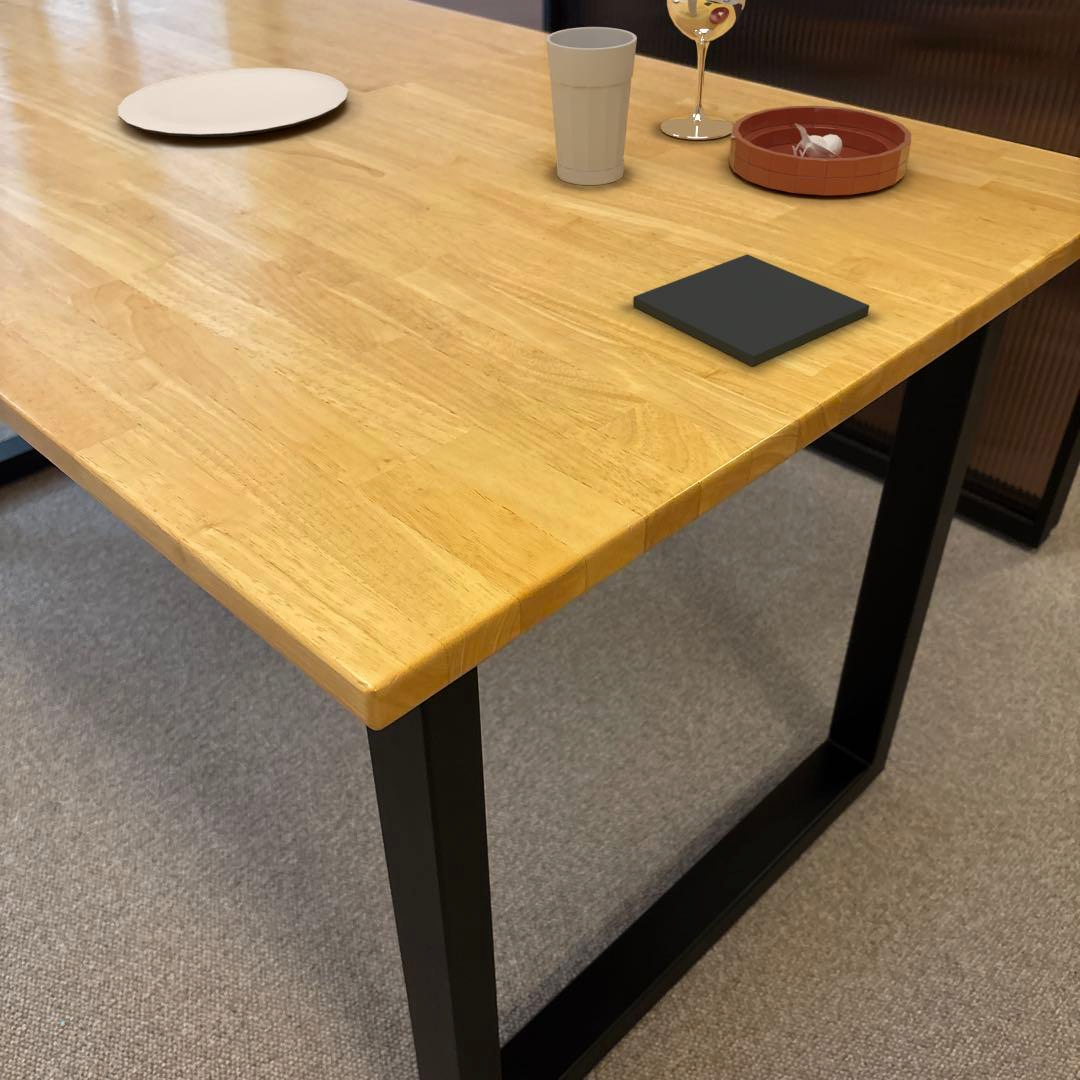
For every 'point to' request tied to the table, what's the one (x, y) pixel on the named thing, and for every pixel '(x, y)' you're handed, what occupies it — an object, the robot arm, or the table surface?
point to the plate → (232, 102)
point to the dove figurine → (819, 145)
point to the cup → (590, 101)
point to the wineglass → (701, 60)
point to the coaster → (750, 308)
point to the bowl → (864, 166)
